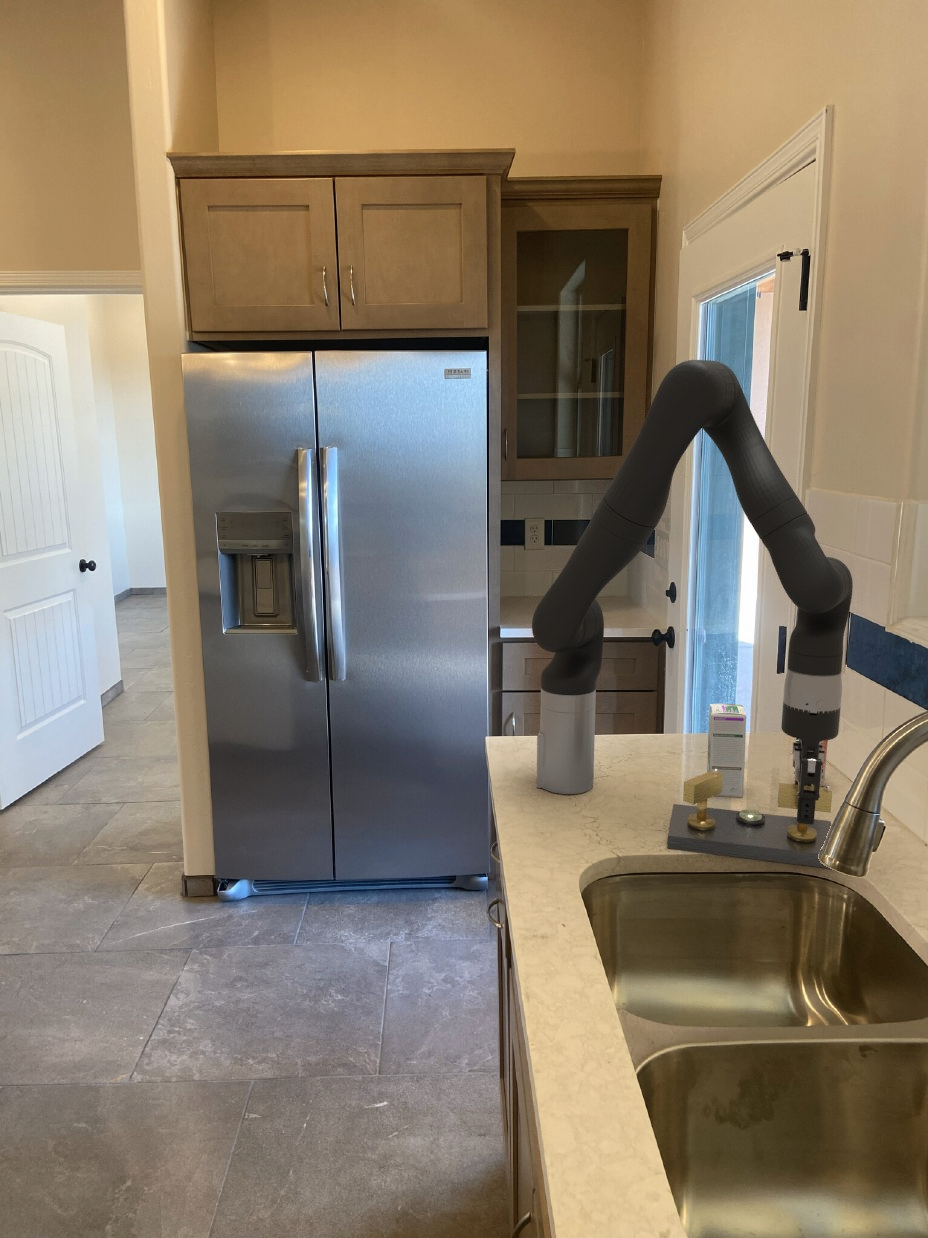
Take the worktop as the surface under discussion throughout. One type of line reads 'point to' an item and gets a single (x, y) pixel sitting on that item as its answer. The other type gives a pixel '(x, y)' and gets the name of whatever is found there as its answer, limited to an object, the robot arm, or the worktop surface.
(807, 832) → the knob
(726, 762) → the syrup box
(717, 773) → the knob
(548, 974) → the worktop surface
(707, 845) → the levelling plate
